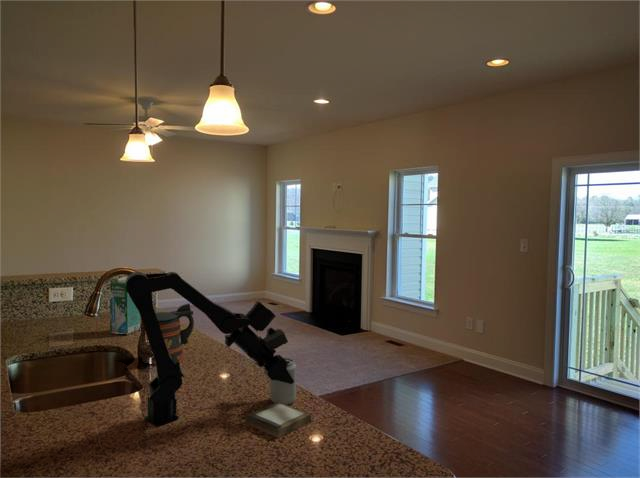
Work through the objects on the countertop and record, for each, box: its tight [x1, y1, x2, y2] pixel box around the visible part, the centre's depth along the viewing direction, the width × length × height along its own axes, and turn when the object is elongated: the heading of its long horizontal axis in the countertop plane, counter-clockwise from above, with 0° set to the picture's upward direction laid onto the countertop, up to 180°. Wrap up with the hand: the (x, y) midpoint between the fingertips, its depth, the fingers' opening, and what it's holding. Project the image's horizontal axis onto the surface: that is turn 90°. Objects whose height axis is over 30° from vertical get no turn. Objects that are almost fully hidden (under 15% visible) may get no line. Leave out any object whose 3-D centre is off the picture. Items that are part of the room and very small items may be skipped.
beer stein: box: [152, 302, 195, 366], centre depth 173 cm, size 19×15×20 cm
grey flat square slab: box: [244, 402, 312, 439], centre depth 120 cm, size 12×12×3 cm
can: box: [269, 357, 297, 406], centre depth 134 cm, size 8×8×12 cm
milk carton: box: [109, 275, 141, 333], centre depth 209 cm, size 9×9×25 cm
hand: (287, 377), depth 135 cm, fingers open, 9 cm apart
